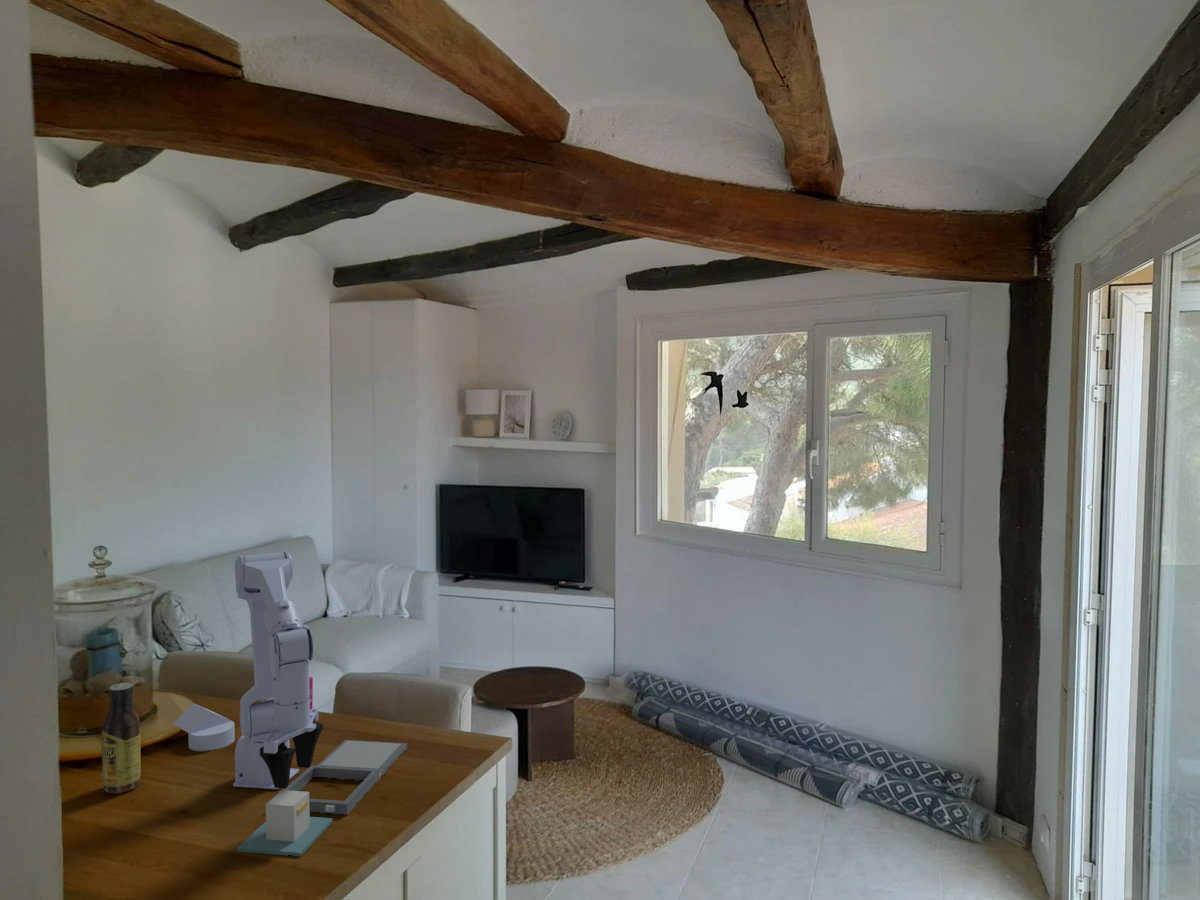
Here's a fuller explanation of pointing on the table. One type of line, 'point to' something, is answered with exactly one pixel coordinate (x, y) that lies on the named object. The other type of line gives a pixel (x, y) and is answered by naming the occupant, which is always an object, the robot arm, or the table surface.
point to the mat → (297, 848)
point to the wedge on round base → (206, 728)
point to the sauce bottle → (121, 742)
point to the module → (287, 815)
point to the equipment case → (350, 771)
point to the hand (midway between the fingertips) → (293, 776)
